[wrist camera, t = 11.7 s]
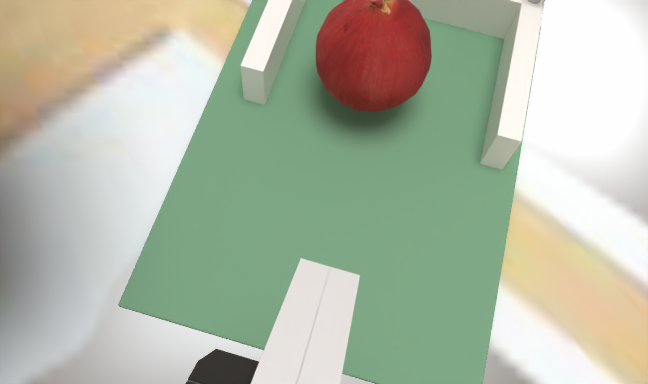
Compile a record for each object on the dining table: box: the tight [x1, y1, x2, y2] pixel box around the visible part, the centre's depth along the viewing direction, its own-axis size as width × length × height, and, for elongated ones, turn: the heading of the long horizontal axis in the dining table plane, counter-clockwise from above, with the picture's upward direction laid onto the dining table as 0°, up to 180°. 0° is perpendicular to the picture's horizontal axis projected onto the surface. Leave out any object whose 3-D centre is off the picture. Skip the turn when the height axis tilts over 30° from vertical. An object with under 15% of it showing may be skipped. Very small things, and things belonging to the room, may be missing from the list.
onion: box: [316, 0, 432, 112], centre depth 31 cm, size 6×6×8 cm
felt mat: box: [118, 0, 541, 384], centre depth 33 cm, size 17×23×1 cm
